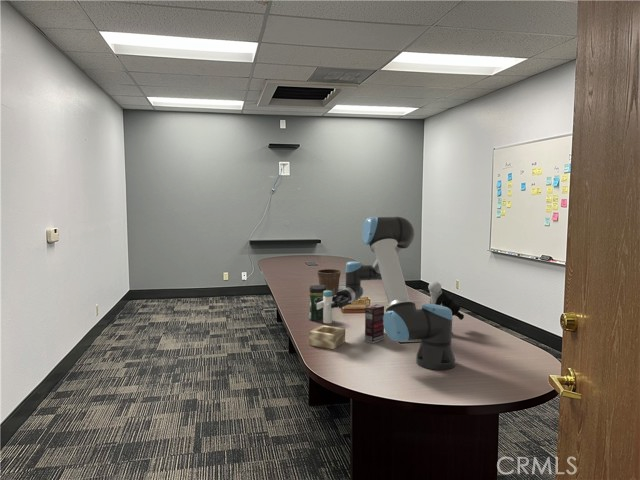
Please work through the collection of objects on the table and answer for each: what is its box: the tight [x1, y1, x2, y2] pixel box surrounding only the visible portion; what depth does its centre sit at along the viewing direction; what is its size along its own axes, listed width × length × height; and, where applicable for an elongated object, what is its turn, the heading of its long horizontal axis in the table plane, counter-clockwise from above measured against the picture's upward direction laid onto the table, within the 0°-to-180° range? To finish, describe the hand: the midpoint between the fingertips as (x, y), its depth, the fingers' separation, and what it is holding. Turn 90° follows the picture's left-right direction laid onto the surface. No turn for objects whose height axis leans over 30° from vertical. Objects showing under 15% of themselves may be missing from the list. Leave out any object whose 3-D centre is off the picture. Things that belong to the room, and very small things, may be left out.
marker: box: [322, 290, 333, 324], centre depth 207 cm, size 4×4×14 cm
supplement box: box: [364, 304, 385, 344], centre depth 213 cm, size 9×5×16 cm, turn 134°
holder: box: [308, 324, 346, 350], centre depth 209 cm, size 12×12×6 cm
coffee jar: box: [308, 284, 326, 322], centre depth 249 cm, size 10×8×19 cm
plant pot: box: [316, 268, 342, 296], centre depth 311 cm, size 16×16×16 cm
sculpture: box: [427, 281, 465, 321], centre depth 228 cm, size 15×24×25 cm, turn 110°
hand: (322, 307), depth 203 cm, fingers closed on marker, 4 cm apart
